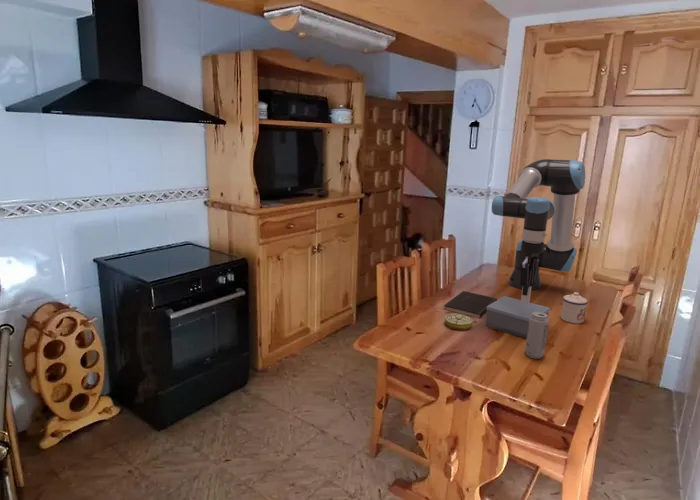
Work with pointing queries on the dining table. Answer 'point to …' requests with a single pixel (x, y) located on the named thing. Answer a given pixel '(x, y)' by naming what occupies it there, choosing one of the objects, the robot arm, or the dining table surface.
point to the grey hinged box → (507, 323)
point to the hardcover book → (470, 304)
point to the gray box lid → (516, 308)
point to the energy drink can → (536, 335)
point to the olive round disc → (458, 321)
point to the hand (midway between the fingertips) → (524, 302)
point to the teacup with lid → (573, 308)
